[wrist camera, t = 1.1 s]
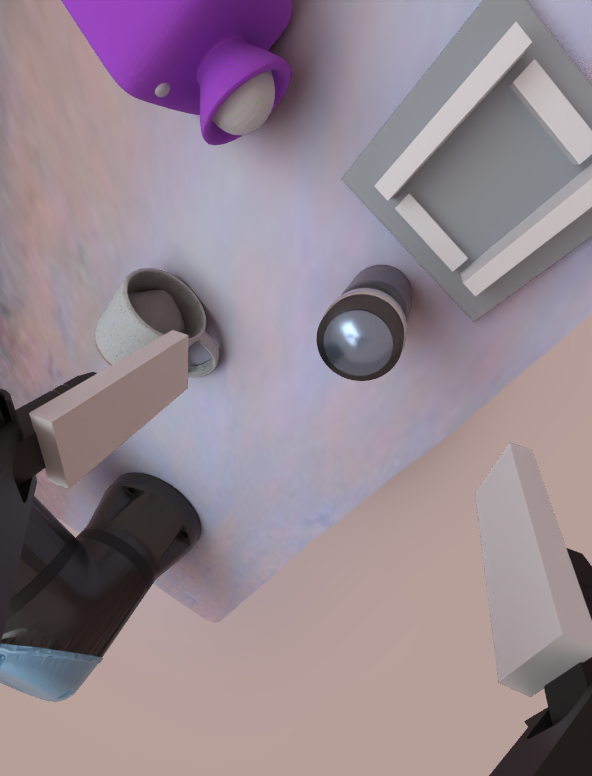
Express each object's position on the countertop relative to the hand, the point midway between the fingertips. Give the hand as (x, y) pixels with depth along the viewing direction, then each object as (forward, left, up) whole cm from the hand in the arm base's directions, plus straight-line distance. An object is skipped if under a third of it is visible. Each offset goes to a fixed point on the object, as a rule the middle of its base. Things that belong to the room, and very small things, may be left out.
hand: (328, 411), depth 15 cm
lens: (0, 0, -18) cm, 18 cm away
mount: (+10, +1, -18) cm, 20 cm away
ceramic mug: (-16, +12, -18) cm, 27 cm away
